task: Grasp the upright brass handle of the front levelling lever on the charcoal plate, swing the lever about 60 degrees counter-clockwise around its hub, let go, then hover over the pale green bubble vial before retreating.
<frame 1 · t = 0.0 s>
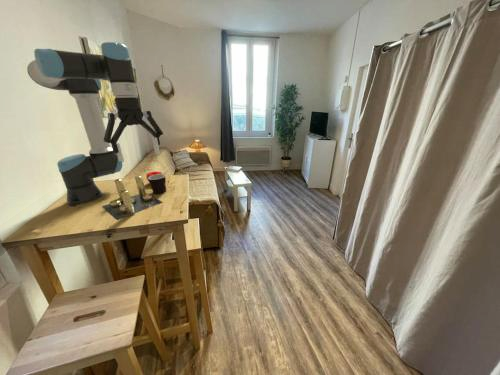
hand: (140, 157, 80), 28 cm above the table, fingers open, 13 cm apart
coffee mug: (161, 192, 118), on the table
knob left: (148, 199, 108), point 1 cm above the table, hinge at 0.0°
levelling plate: (133, 206, 103), on the table
knob back: (116, 205, 102), point 1 cm above the table, hinge at 0.0°
knob front: (126, 210, 97), point 1 cm above the table, hinge at 0.0°
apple: (156, 184, 130), on the table
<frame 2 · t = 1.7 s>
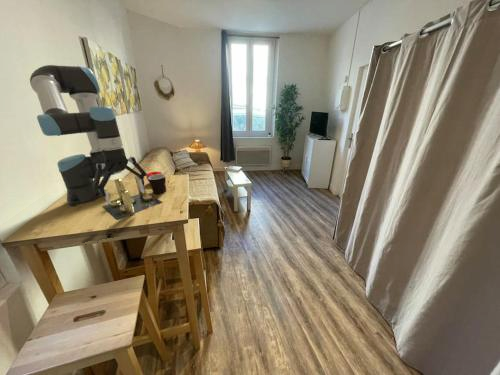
hand: (126, 197, 90), 10 cm above the table, fingers open, 13 cm apart
nothing on the table moved.
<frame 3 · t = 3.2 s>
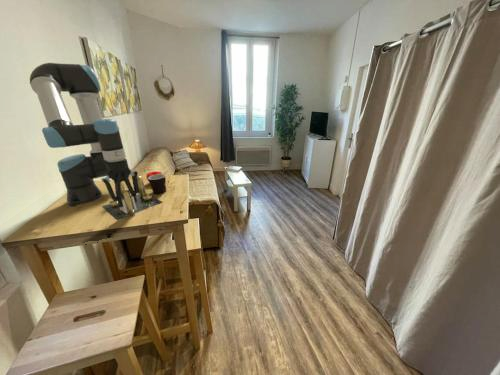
hand: (130, 210, 93), 3 cm above the table, fingers closed on knob front, 3 cm apart
knob front: (126, 210, 97), point 1 cm above the table, hinge at 0.0°, touching gripper
everything else where it was.
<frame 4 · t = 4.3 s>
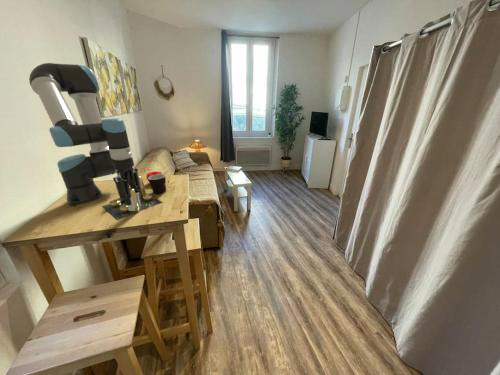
hand: (134, 208, 95), 3 cm above the table, fingers open, 4 cm apart
knob front: (126, 210, 97), point 1 cm above the table, hinge at 25.3°, touching gripper
everything else where it was.
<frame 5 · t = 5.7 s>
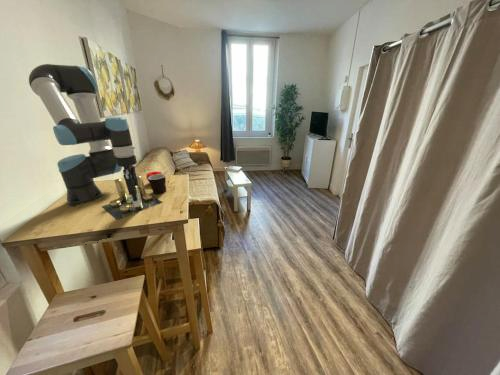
hand: (138, 204, 98), 3 cm above the table, fingers closed on knob front, 3 cm apart
knob front: (126, 210, 97), point 1 cm above the table, hinge at 59.4°, touching gripper
everything else where it was.
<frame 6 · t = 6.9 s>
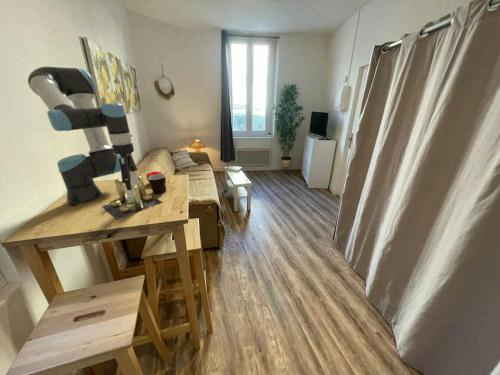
hand: (133, 189, 96), 11 cm above the table, fingers open, 13 cm apart
knob front: (126, 210, 97), point 1 cm above the table, hinge at 60.8°
everything else where it was.
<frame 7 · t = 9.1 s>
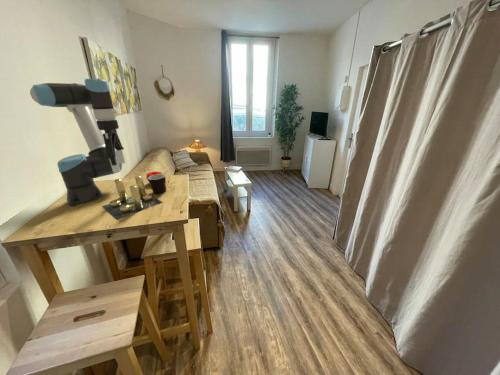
hand: (119, 167, 98), 20 cm above the table, fingers open, 13 cm apart
nothing on the table moved.
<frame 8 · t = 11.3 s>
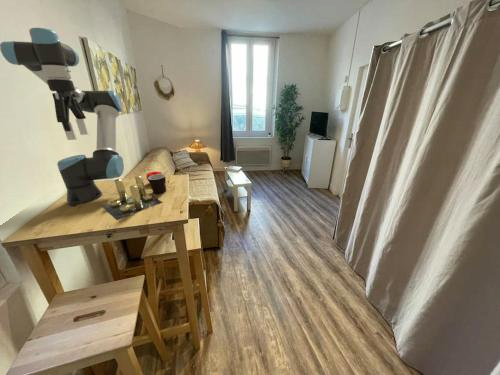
hand: (79, 137, 87), 35 cm above the table, fingers open, 13 cm apart
nothing on the table moved.
at the end: knob front at +61° (first picture: +0°); the gripper is holding nothing; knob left at +0° (first picture: +0°) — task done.
